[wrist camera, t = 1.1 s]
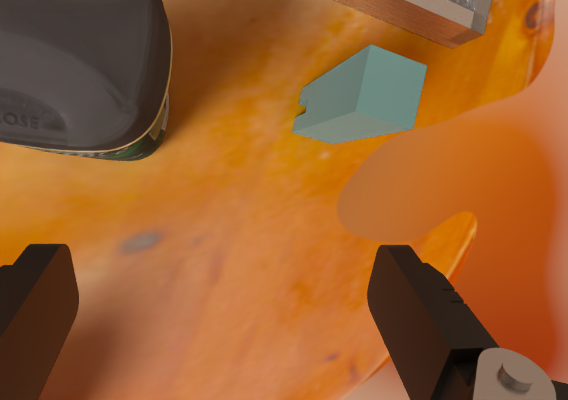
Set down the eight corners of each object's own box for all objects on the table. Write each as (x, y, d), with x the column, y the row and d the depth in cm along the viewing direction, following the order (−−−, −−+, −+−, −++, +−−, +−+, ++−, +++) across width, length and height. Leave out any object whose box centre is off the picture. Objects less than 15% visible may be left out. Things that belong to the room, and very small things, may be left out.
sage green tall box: (292, 132, 34) (355, 111, 22) (302, 88, 34) (371, 44, 22) (332, 144, 35) (412, 129, 23) (342, 101, 35) (427, 65, 23)
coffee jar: (24, 149, 28) (-227, 106, 10) (40, 41, 28) (-189, -194, 10) (162, 171, 31) (153, 166, 13) (177, 73, 31) (187, -67, 13)
